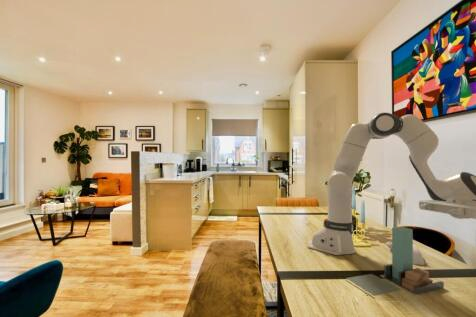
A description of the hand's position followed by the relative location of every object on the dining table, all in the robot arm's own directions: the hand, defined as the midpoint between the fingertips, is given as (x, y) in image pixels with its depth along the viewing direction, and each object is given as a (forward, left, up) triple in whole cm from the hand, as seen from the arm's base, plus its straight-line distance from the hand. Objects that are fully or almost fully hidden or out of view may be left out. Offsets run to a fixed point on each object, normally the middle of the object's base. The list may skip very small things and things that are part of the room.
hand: (435, 209), depth 91 cm
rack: (-9, -11, -26) cm, 29 cm away
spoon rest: (-8, +20, -26) cm, 34 cm away
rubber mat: (-20, -20, -26) cm, 38 cm away
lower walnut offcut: (-7, -14, -25) cm, 29 cm away
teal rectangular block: (-11, -9, -25) cm, 29 cm away
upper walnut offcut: (-7, -14, -22) cm, 27 cm away
